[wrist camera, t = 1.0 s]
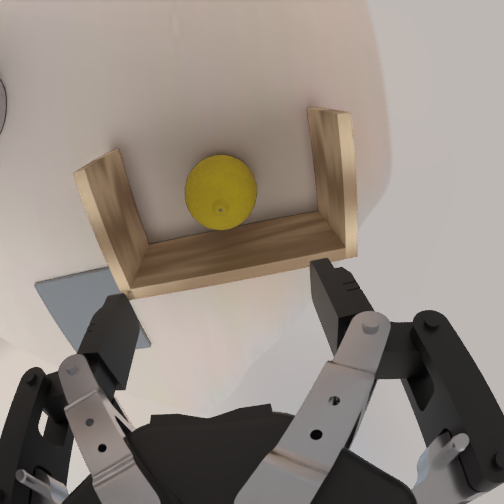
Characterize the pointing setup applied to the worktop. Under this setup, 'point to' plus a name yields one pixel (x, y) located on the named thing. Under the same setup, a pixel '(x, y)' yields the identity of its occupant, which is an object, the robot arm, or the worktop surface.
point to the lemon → (220, 192)
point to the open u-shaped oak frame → (230, 240)
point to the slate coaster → (80, 302)
